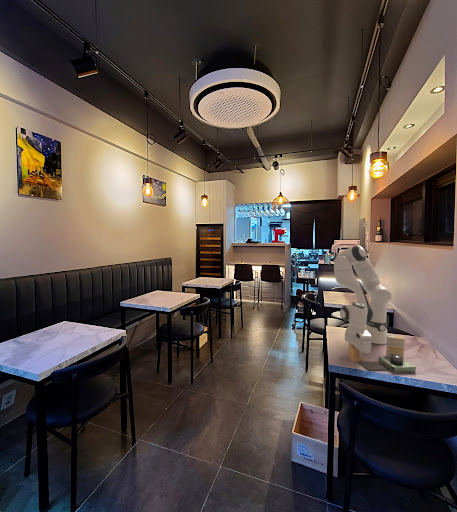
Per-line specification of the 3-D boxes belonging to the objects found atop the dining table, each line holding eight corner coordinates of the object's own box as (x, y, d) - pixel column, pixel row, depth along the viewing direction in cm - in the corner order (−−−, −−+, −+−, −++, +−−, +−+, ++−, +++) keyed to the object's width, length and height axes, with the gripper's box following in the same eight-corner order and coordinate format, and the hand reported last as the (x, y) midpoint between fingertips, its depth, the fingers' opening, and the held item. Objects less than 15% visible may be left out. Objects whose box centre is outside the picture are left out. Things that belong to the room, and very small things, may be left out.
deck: (377, 361, 141) (378, 351, 141) (397, 361, 142) (398, 351, 142) (393, 372, 129) (394, 361, 129) (415, 372, 130) (416, 361, 130)
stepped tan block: (348, 357, 146) (349, 344, 146) (358, 357, 147) (359, 344, 146) (353, 360, 142) (353, 347, 141) (363, 360, 142) (363, 347, 142)
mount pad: (358, 362, 140) (358, 361, 140) (376, 362, 141) (376, 361, 141) (368, 371, 131) (368, 369, 131) (388, 370, 132) (388, 369, 132)
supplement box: (401, 358, 147) (403, 336, 146) (403, 361, 143) (405, 339, 142) (385, 355, 150) (386, 333, 150) (386, 358, 146) (388, 336, 145)
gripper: (342, 325, 153) (341, 347, 154) (363, 338, 133) (361, 363, 134) (351, 325, 154) (350, 346, 155) (374, 337, 134) (372, 362, 134)
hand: (356, 354), depth 144 cm, fingers open, 7 cm apart
